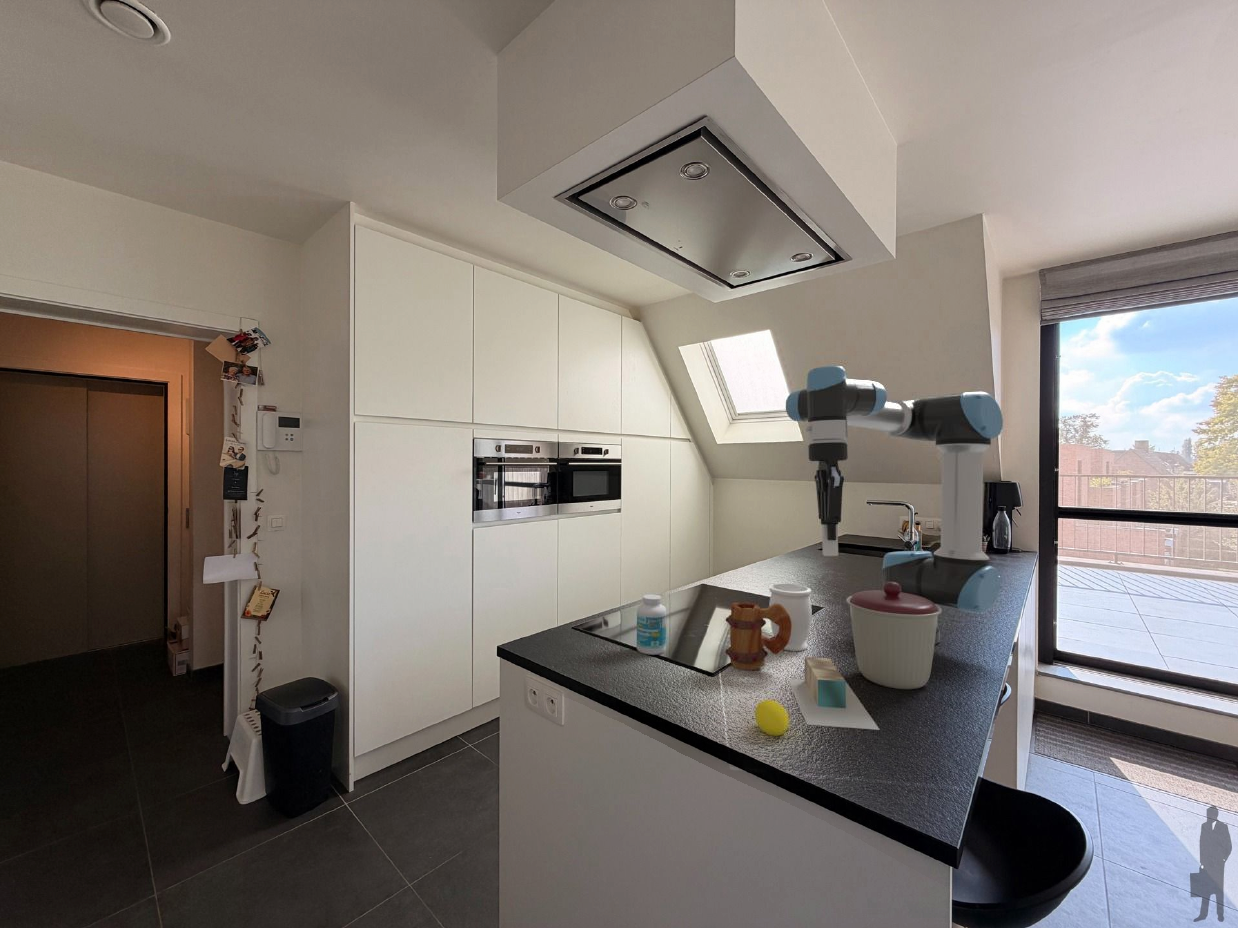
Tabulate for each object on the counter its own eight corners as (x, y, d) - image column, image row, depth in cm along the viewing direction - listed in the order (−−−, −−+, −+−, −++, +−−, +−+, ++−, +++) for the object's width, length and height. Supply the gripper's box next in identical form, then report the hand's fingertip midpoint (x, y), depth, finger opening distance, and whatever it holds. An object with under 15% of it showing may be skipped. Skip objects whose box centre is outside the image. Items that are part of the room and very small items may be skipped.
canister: (931, 707, 98) (930, 596, 98) (834, 680, 110) (833, 582, 110) (950, 679, 111) (949, 581, 111) (862, 658, 123) (861, 570, 124)
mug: (722, 670, 115) (722, 603, 116) (727, 658, 123) (727, 595, 123) (791, 680, 110) (791, 610, 111) (792, 666, 118) (792, 601, 118)
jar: (818, 653, 127) (817, 592, 127) (775, 653, 127) (775, 592, 127) (803, 639, 137) (803, 583, 137) (764, 639, 137) (764, 582, 138)
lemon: (796, 741, 86) (798, 711, 86) (769, 747, 84) (772, 716, 84) (770, 717, 93) (772, 689, 92) (744, 722, 91) (747, 693, 90)
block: (845, 708, 96) (829, 682, 108) (845, 681, 96) (829, 658, 108) (818, 706, 97) (804, 680, 109) (817, 679, 97) (804, 657, 109)
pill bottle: (632, 653, 126) (632, 598, 127) (642, 644, 133) (642, 591, 133) (661, 657, 124) (661, 601, 124) (670, 647, 130) (670, 594, 131)
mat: (846, 684, 108) (846, 682, 108) (879, 731, 88) (879, 729, 88) (787, 680, 110) (787, 678, 110) (807, 726, 90) (807, 724, 90)
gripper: (801, 443, 114) (804, 550, 114) (816, 441, 101) (819, 561, 101) (837, 442, 113) (839, 550, 113) (856, 440, 100) (859, 561, 100)
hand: (830, 555), depth 107 cm, fingers closed
